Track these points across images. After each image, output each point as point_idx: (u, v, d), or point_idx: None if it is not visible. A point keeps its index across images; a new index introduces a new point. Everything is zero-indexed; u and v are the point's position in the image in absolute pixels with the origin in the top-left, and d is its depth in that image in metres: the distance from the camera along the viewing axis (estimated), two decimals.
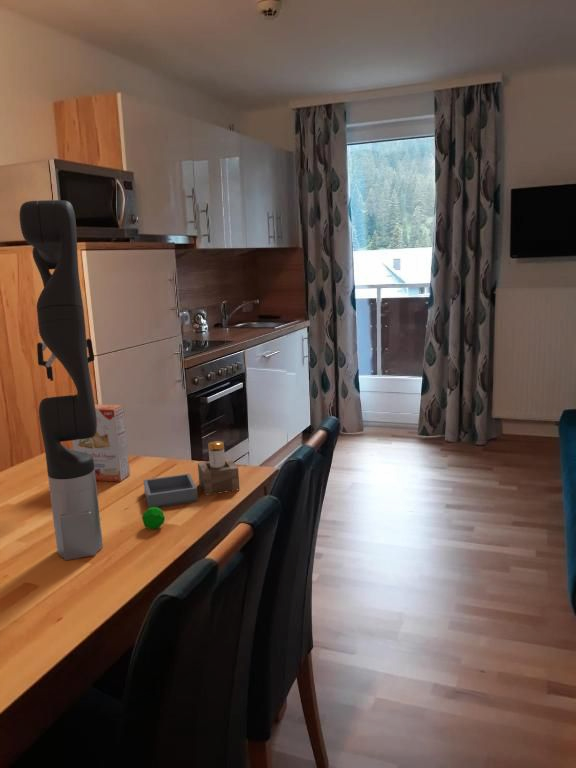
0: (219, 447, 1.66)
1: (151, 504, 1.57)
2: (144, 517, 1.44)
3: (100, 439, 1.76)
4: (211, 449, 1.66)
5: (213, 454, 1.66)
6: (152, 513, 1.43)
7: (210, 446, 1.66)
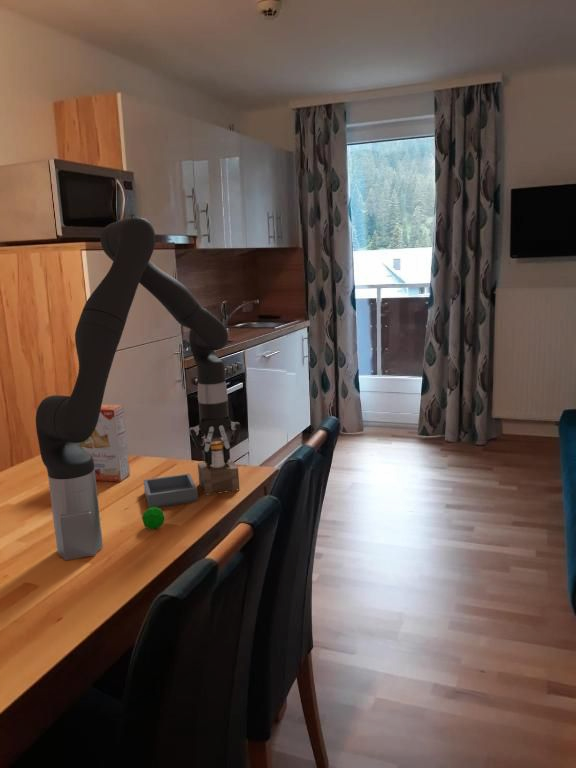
0: (219, 447, 1.66)
1: (151, 504, 1.57)
2: (144, 517, 1.44)
3: (100, 439, 1.76)
4: (211, 449, 1.66)
5: (213, 454, 1.66)
6: (152, 513, 1.43)
7: (210, 446, 1.66)
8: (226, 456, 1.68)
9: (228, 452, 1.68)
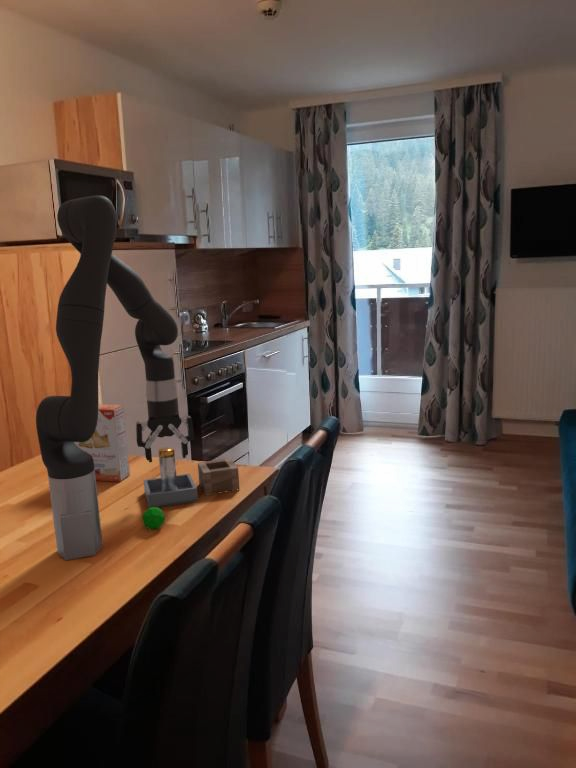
0: (169, 453, 1.60)
1: (151, 504, 1.57)
2: (144, 517, 1.44)
3: (100, 439, 1.76)
4: (161, 456, 1.61)
5: (162, 461, 1.61)
6: (152, 513, 1.43)
7: (160, 453, 1.61)
8: (184, 451, 1.62)
9: (186, 447, 1.63)
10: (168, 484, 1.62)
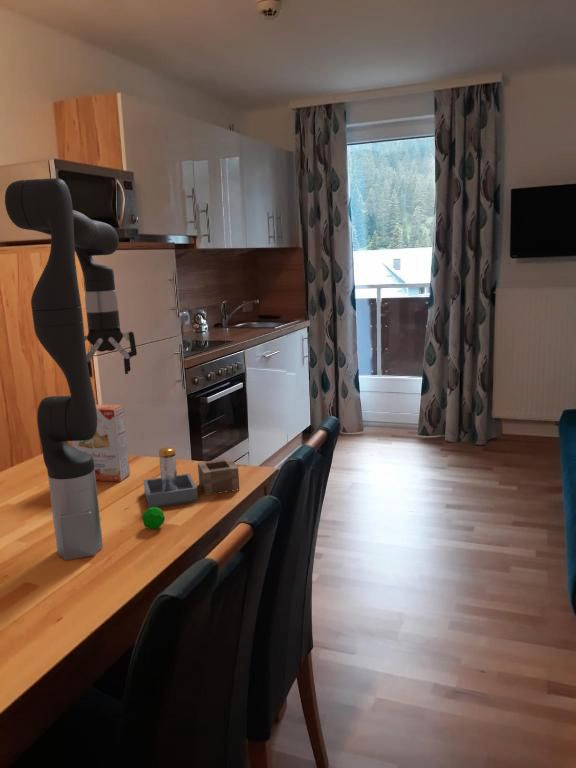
0: (170, 453, 1.60)
1: (151, 504, 1.57)
2: (144, 517, 1.44)
3: (100, 439, 1.76)
4: (161, 455, 1.61)
5: (163, 461, 1.61)
6: (152, 513, 1.43)
7: (160, 452, 1.61)
8: (126, 367, 1.59)
9: (128, 363, 1.60)
10: (168, 484, 1.62)
